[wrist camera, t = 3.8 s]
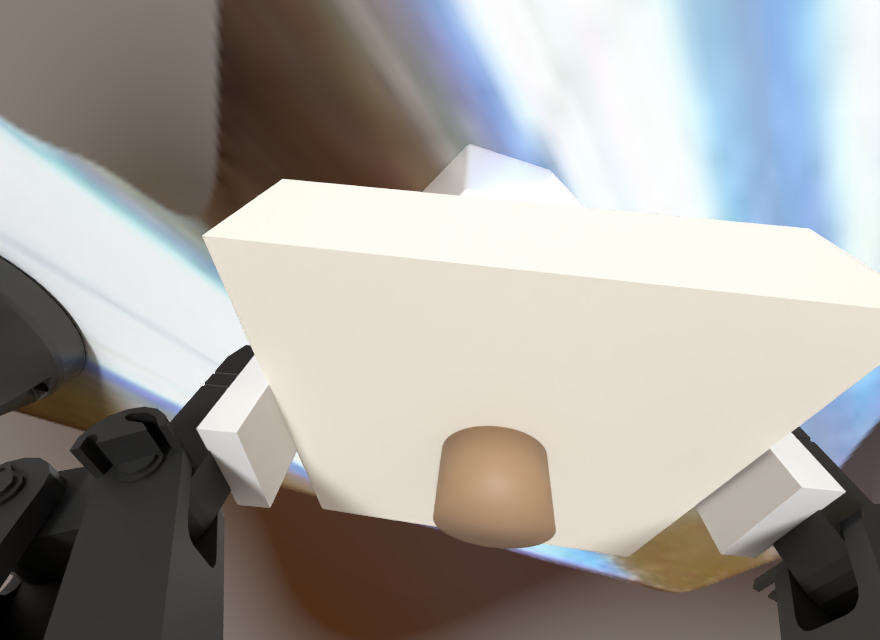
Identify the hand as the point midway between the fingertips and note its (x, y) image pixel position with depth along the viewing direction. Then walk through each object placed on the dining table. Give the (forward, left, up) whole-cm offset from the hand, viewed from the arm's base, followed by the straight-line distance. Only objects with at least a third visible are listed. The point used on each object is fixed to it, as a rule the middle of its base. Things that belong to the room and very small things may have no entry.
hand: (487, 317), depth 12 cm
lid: (0, 0, +3) cm, 3 cm away
